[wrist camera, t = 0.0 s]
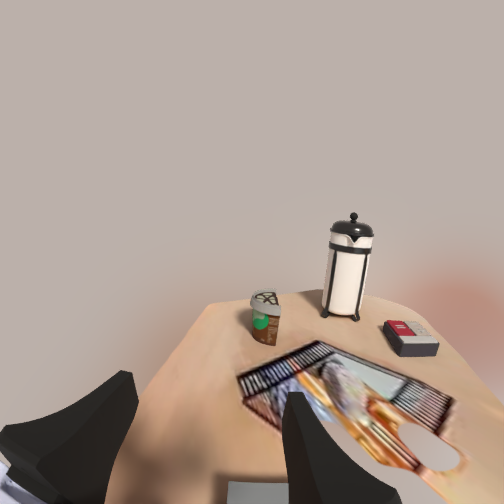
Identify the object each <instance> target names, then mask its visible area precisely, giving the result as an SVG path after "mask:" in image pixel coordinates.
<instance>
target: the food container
mask: <svg viewBox="0 0 504 504" xmlns="http://www.w3.org/2000/svg"><path fill="white" fill-rule="evenodd" d="M250 305H251V307H252V308H253V334H252V335H253V338H254V339H255V340H256V341H258V342H260V343H262V344H266V345H271V346H275V345H276V338H277V332H278V325H279V318H280V314H281V306H279V304H278V299H277V297H276V289H262V290H258V291H256V292H255V293H254V295H253V296H252V298H251V301H250Z"/></svg>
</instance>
